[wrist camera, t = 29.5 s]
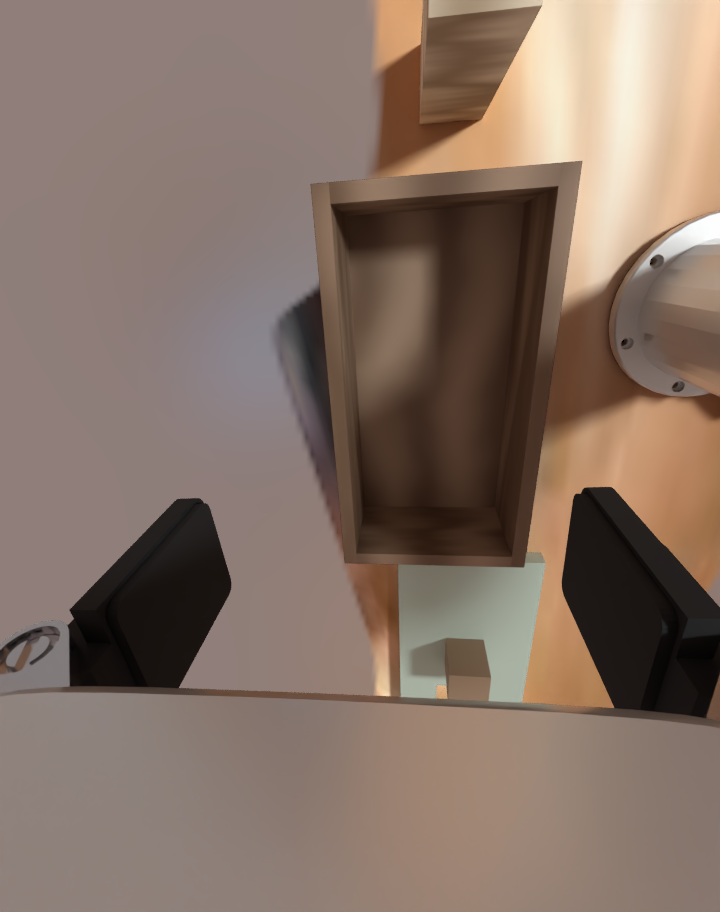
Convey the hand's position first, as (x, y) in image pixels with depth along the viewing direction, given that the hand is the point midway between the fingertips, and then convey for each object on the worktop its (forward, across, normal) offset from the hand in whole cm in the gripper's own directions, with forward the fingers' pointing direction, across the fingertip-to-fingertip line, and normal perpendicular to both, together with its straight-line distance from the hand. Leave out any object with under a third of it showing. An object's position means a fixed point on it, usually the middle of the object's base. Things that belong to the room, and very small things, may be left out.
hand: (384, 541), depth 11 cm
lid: (+26, -5, +34) cm, 43 cm away
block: (+26, -4, -16) cm, 31 cm away
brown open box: (+26, -2, +3) cm, 26 cm away
